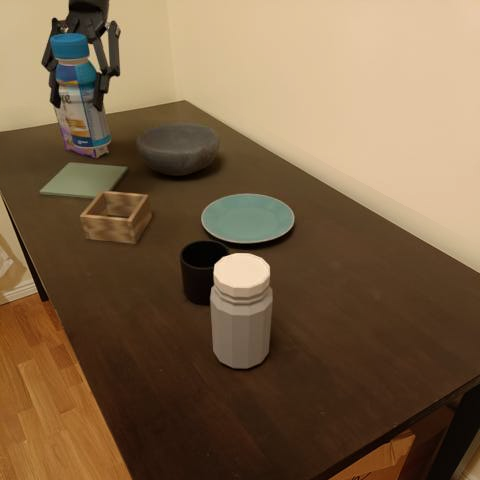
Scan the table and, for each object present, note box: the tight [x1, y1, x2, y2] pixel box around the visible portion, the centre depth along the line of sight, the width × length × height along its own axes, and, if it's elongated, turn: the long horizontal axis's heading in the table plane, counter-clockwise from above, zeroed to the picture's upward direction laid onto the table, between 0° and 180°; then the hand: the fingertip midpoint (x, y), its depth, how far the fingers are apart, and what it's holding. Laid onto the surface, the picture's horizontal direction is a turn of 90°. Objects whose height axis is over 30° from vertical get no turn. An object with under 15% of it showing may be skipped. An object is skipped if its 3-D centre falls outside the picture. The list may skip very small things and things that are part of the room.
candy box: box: [52, 99, 110, 160], centre depth 128 cm, size 14×6×16 cm, turn 58°
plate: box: [200, 193, 295, 245], centre depth 102 cm, size 22×22×3 cm
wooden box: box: [79, 190, 153, 245], centre depth 101 cm, size 12×12×6 cm
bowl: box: [135, 122, 220, 177], centre depth 122 cm, size 23×22×10 cm
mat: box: [39, 161, 129, 200], centre depth 119 cm, size 18×18×1 cm
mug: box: [179, 239, 231, 306], centre depth 84 cm, size 9×12×9 cm
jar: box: [210, 252, 274, 370], centre depth 68 cm, size 10×10×18 cm
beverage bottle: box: [50, 33, 112, 150], centre depth 88 cm, size 8×8×20 cm
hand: (75, 106), depth 86 cm, fingers closed on beverage bottle, 8 cm apart
